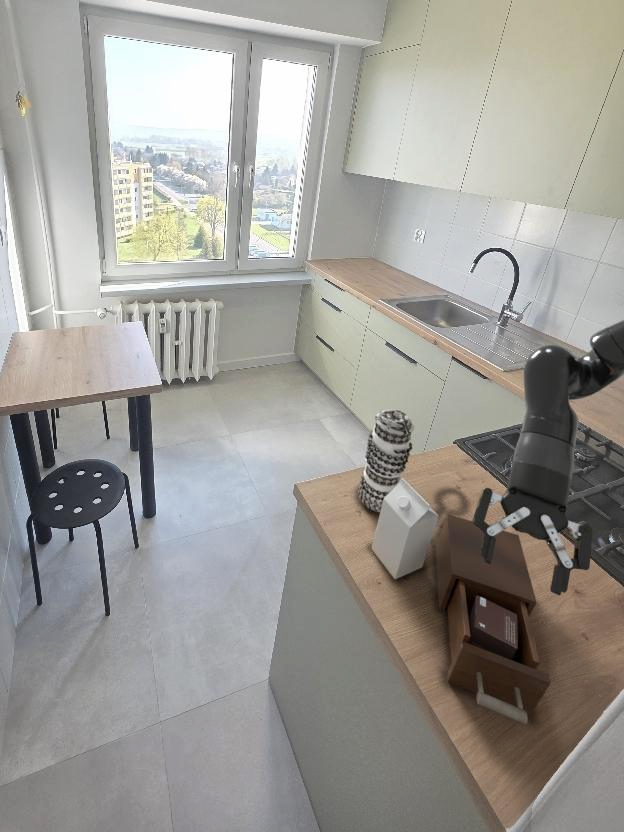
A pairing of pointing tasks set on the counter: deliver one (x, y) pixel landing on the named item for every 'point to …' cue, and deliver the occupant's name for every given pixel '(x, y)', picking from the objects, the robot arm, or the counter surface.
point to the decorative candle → (385, 457)
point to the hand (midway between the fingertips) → (520, 577)
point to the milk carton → (404, 530)
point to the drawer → (494, 658)
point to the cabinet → (481, 562)
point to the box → (493, 628)
